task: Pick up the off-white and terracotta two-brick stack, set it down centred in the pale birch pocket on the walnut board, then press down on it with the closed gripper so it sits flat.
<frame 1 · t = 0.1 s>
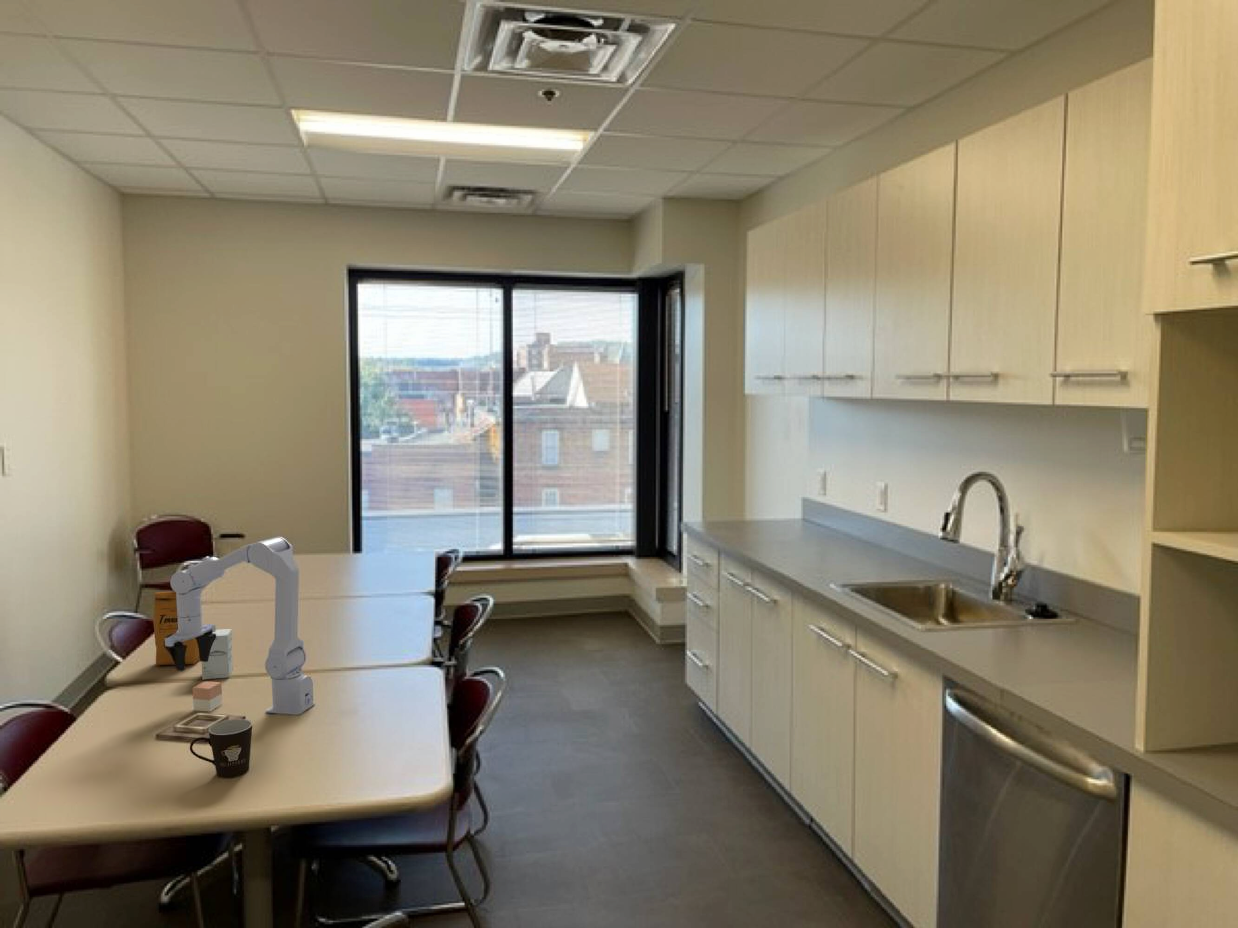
hand: (192, 665, 228), 10 cm above the table, tool pointing down, fingers open, 7 cm apart
supplement box: (218, 675, 250), on the table
coffee package: (179, 663, 262), on the table
coffee mug: (225, 772, 187), on the table
walnut board: (201, 728, 211), on the table
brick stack: (208, 707, 225), on the table
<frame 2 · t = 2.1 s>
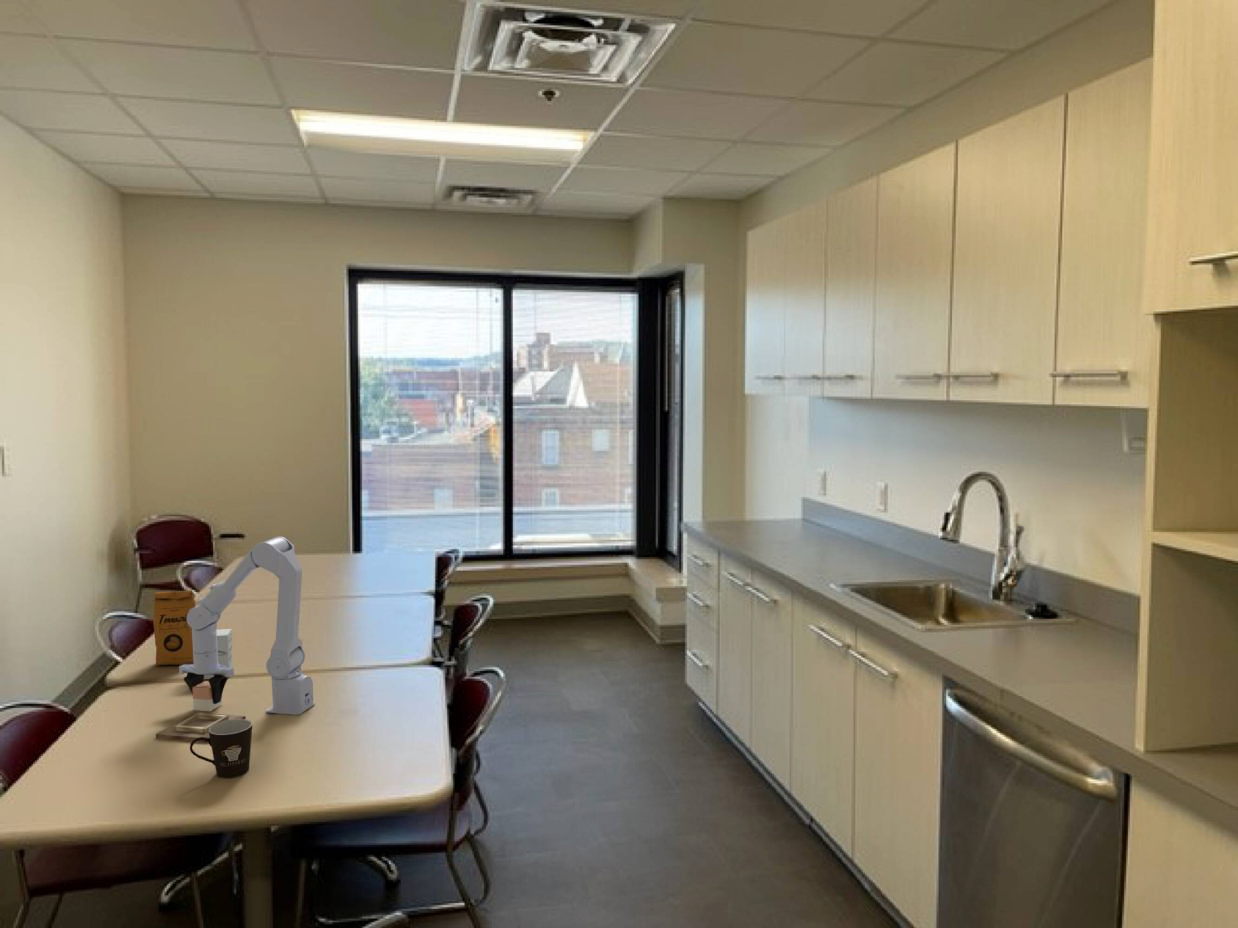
hand: (207, 701, 225), 1 cm above the table, tool pointing down, fingers closed on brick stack, 5 cm apart
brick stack: (208, 707, 225), on the table, touching gripper
everything else where it was.
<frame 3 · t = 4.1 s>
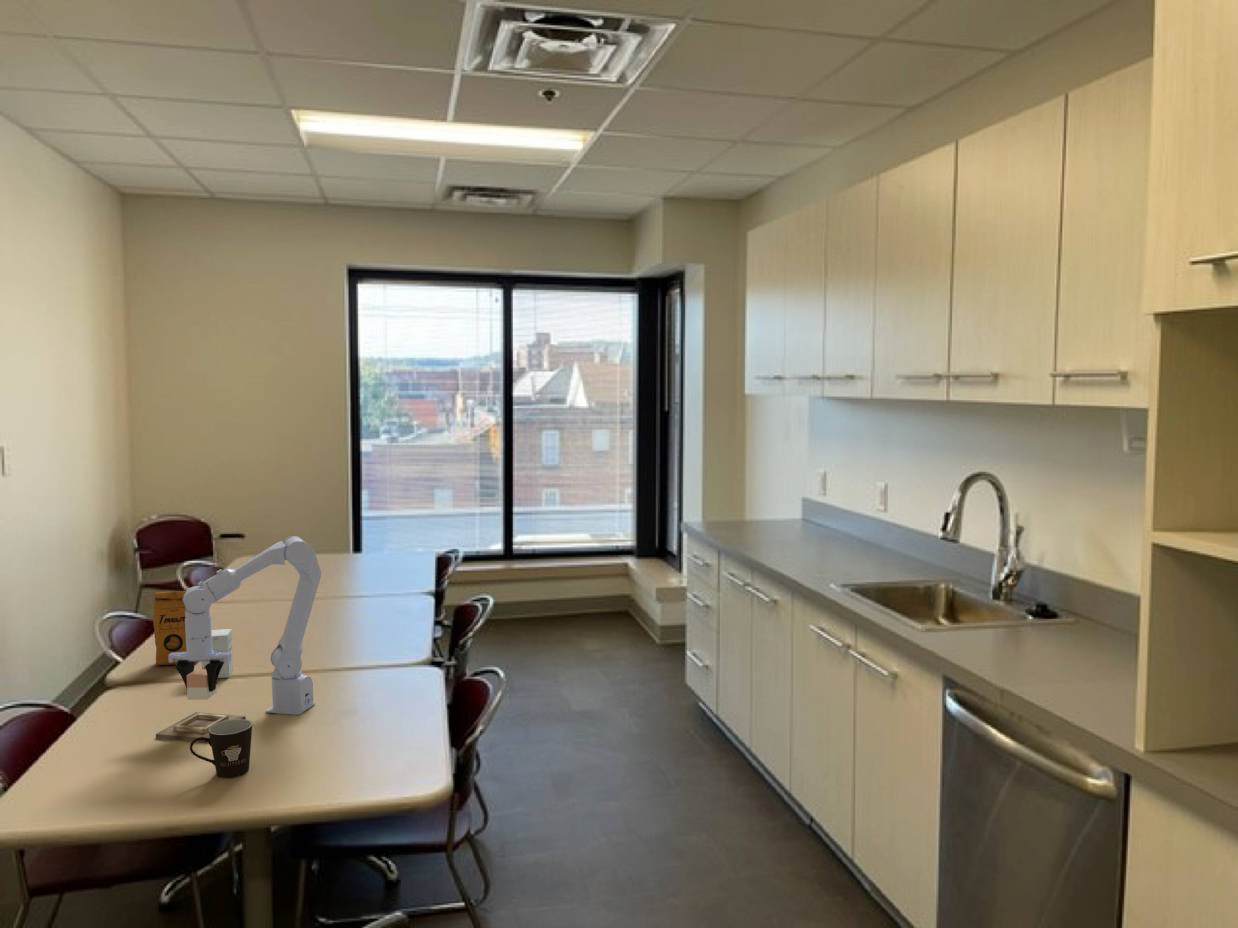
hand: (201, 690, 213), 8 cm above the table, tool pointing down, fingers closed on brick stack, 5 cm apart
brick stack: (202, 696, 214), point 7 cm above the table, touching gripper
everything else where it was.
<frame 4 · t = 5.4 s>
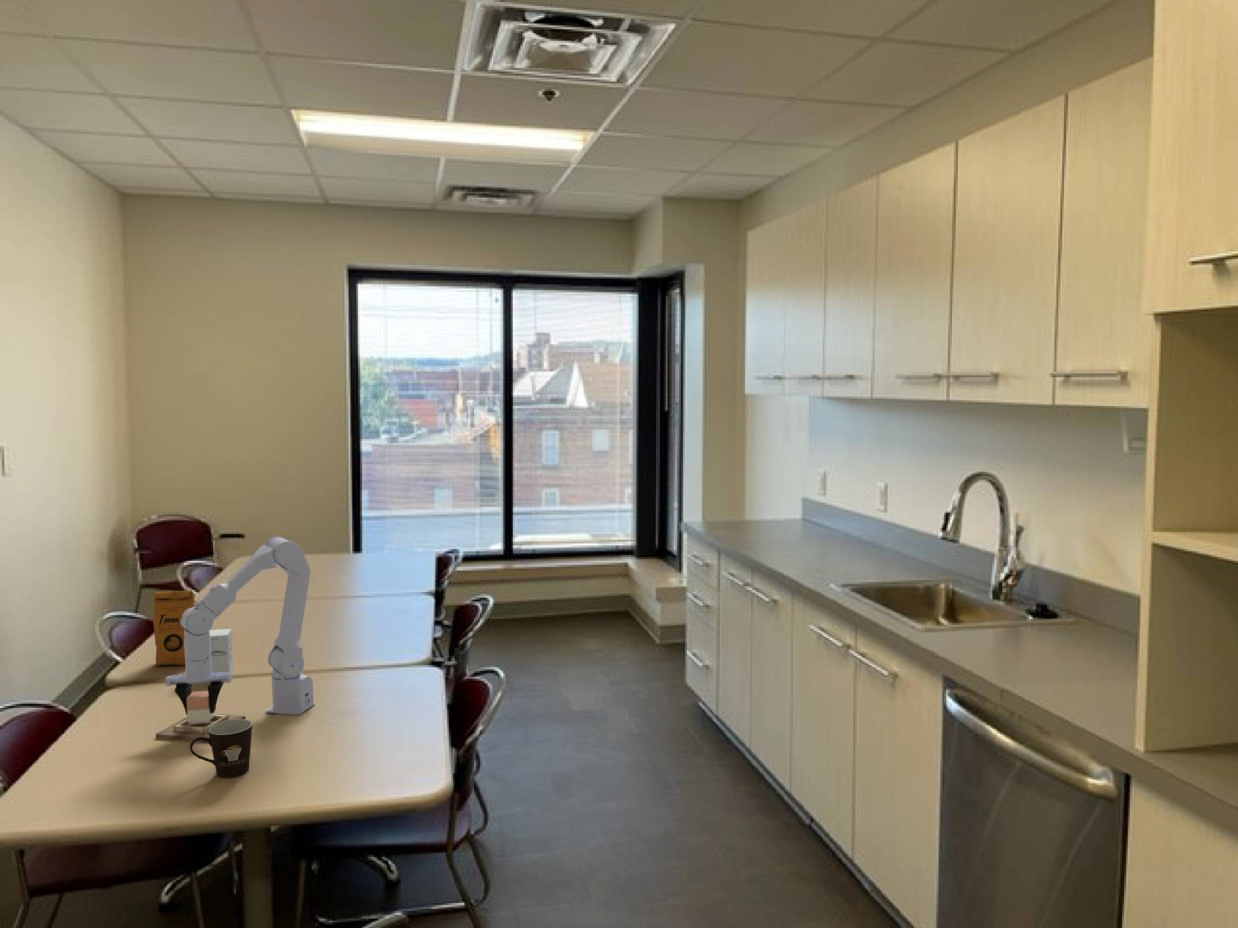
hand: (201, 712, 210), 4 cm above the table, tool pointing down, fingers closed on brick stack, 5 cm apart
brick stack: (201, 718, 211), point 2 cm above the table, touching gripper
everything else where it was.
when the fingers open (4 cm above the table, at t = 6.4 s): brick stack drops 1 cm, resting on walnut board.
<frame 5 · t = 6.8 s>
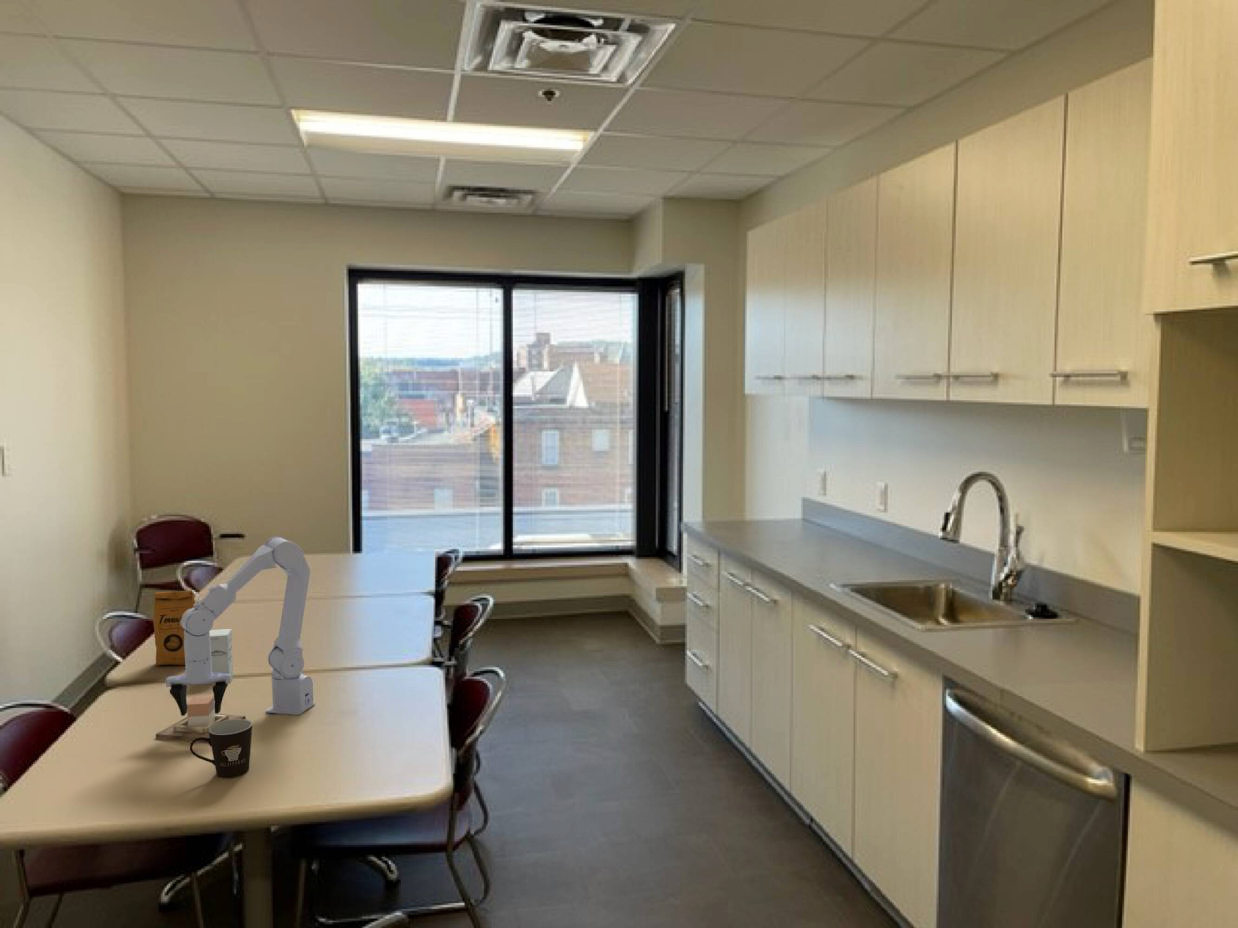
hand: (201, 713, 210), 4 cm above the table, tool pointing down, fingers open, 7 cm apart
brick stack: (201, 724, 211), point 1 cm above the table, touching walnut board
everything else where it was.
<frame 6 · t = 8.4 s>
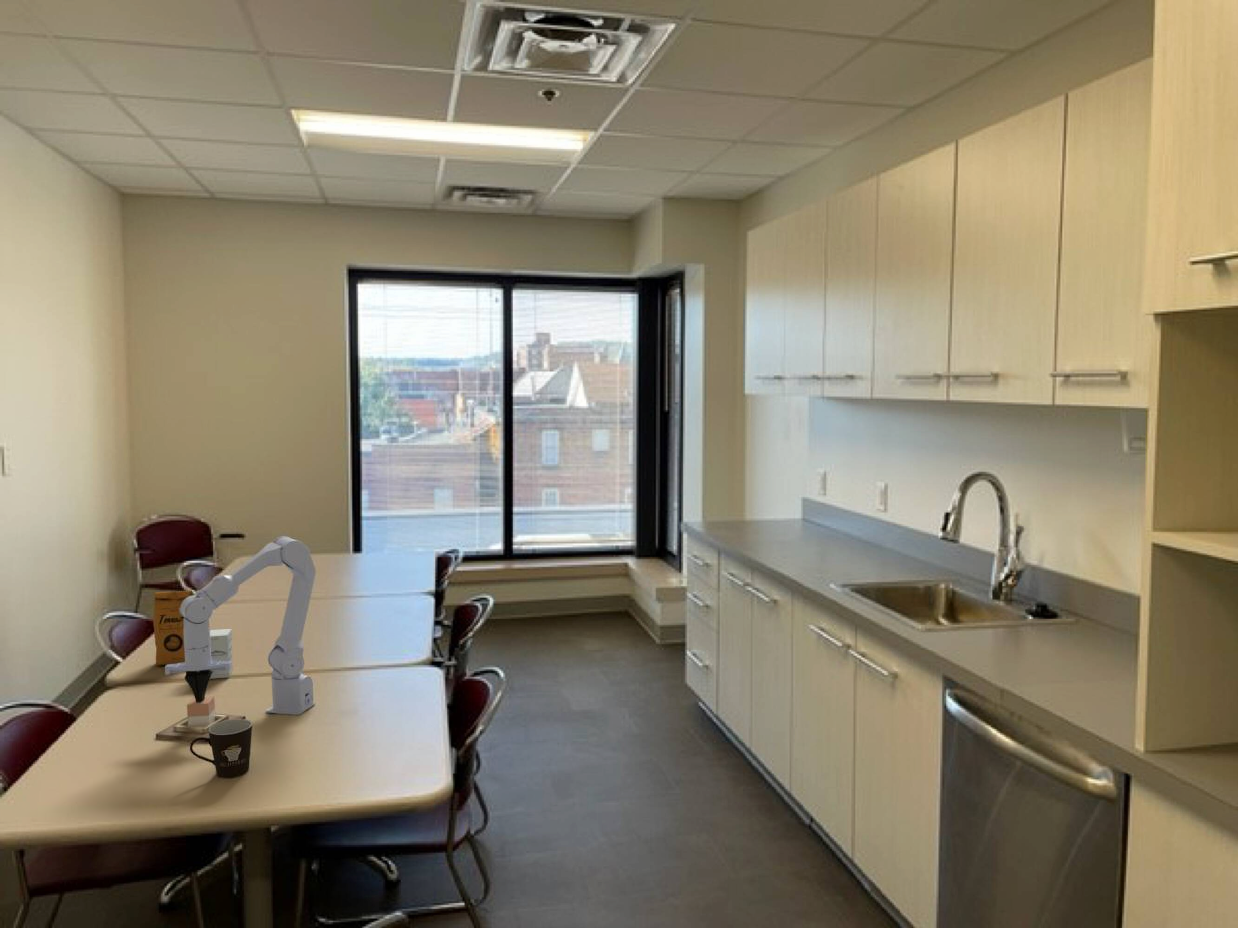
hand: (200, 700, 210), 7 cm above the table, tool pointing down, fingers closed, pressing on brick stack
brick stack: (201, 724, 211), point 1 cm above the table, touching gripper, walnut board
everything else where it was.
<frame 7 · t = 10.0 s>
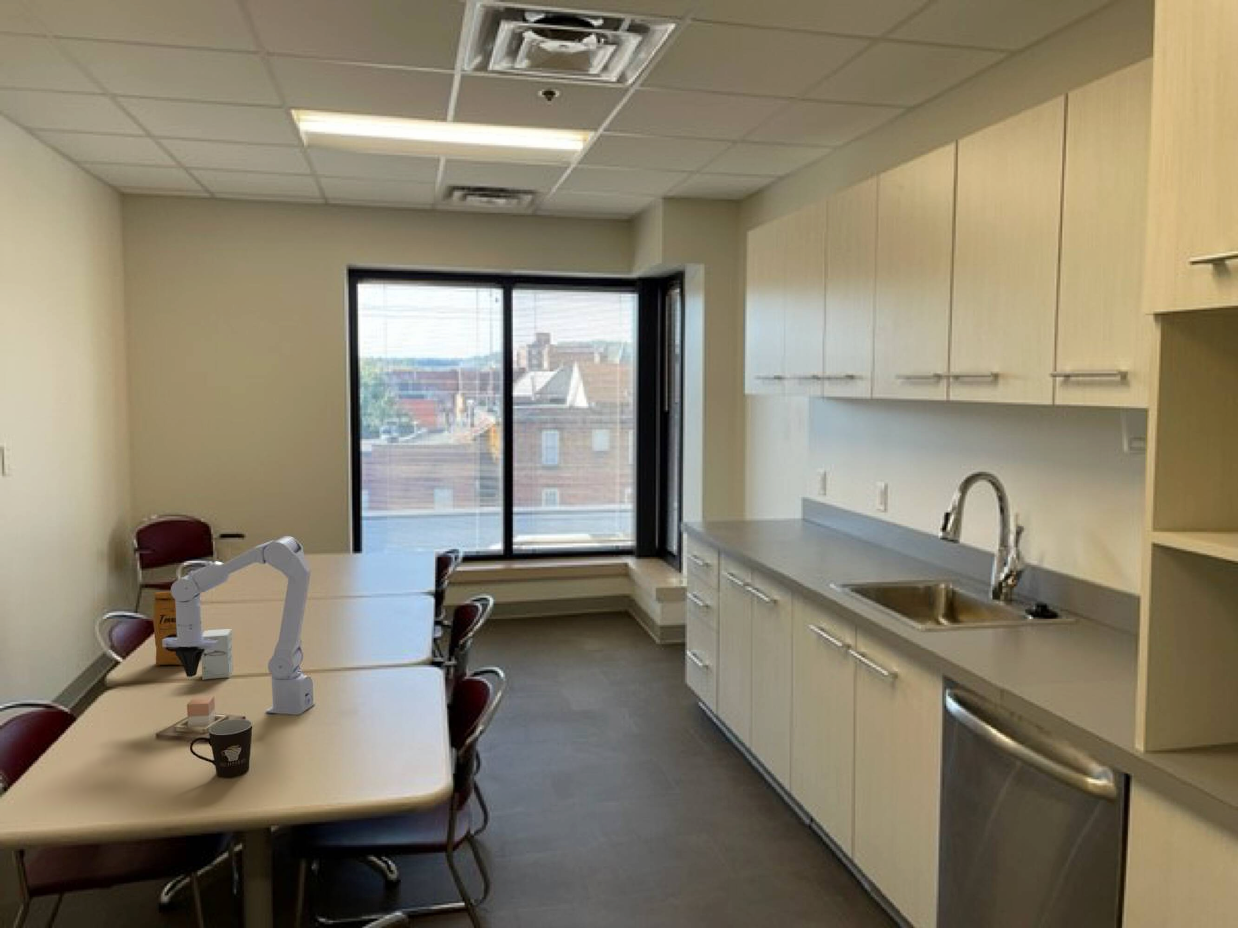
hand: (191, 675, 221), 9 cm above the table, tool pointing down, fingers closed
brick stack: (201, 724, 211), point 1 cm above the table, touching walnut board
everything else where it was.
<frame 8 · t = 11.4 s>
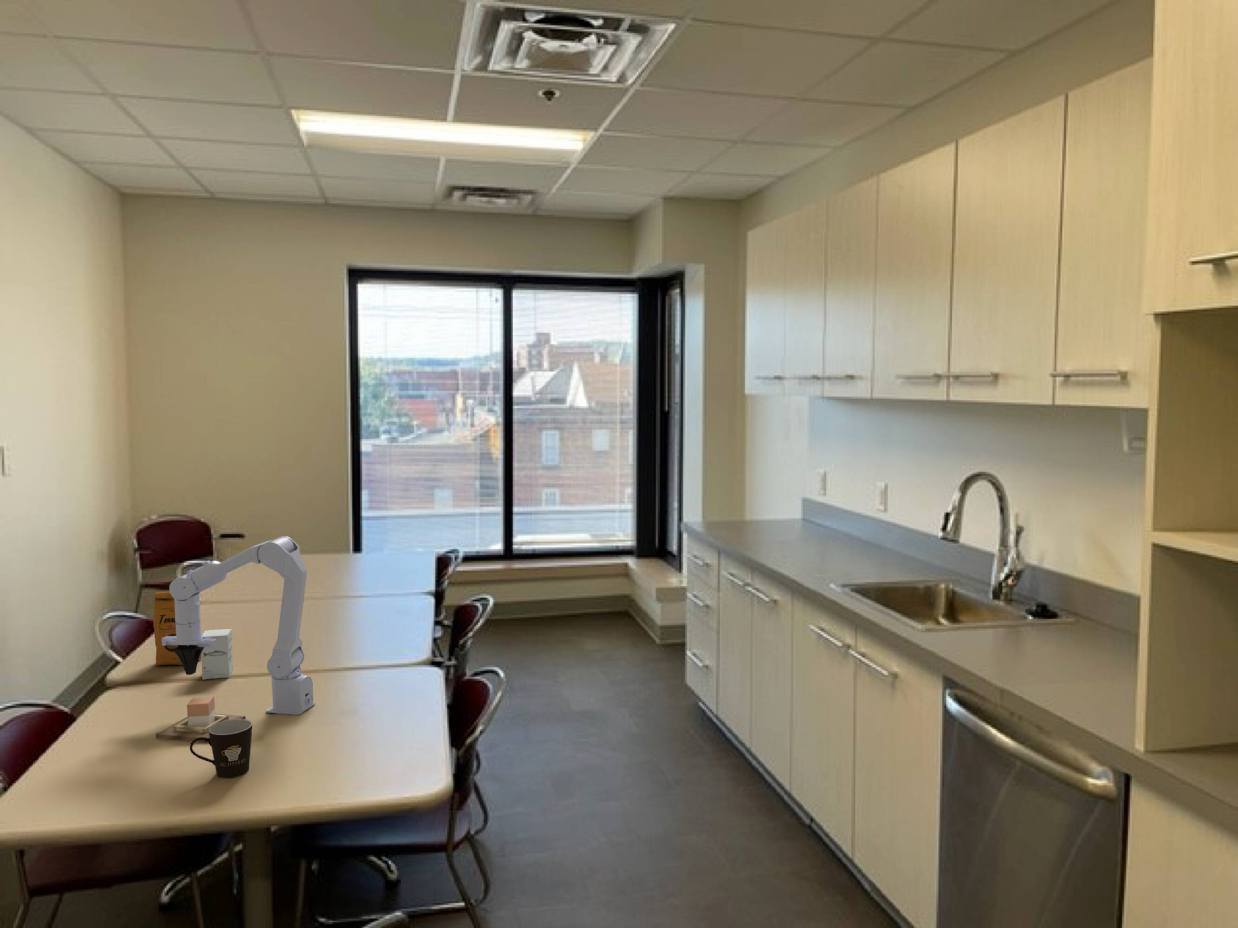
hand: (190, 673, 223), 9 cm above the table, tool pointing down, fingers closed
nothing on the table moved.
at the end: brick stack 0.2 cm off-centre on the walnut board, point 1.0 cm above the walnut board's base; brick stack tilted 0°; the gripper is holding nothing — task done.
